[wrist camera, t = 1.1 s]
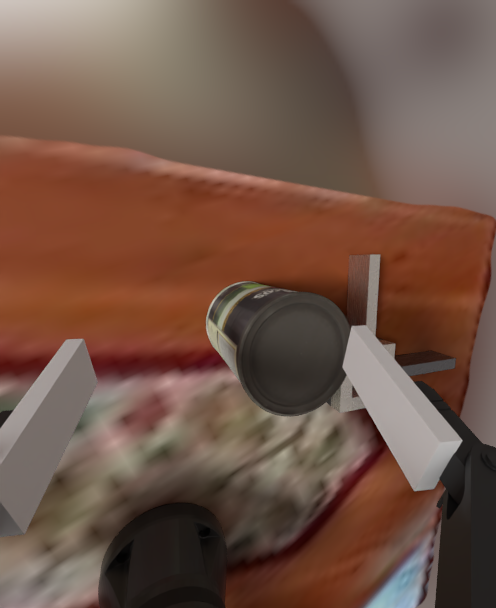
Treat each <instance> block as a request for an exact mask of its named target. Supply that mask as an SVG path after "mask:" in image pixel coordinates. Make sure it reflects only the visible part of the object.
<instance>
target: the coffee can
mask: <svg viewBox="0 0 496 608" xmlns="http://www.w3.org/2000/svg"><path fill="white" fill-rule="evenodd" d="M206 330H207V334H208V337H209V340H210V342H211V344H212V345H213V347H214V348H215V349H216V350H217V351H218V352H219V354H220V355H221V356H222V358H223V359H224V361H225V362H226V363H227V365H228V366H229V367H230V369H231V370H232V371H233V373H234V374H235V376H236V377H237V378H238V380H239V381H240V382H241V384H242V386H243V388H244V390H245V392H246V393H247V395H248V396H249V397H250V399H251V400H252V401H253V402H254V403H255V404H256V405H258V406H259V407H260V408H262V409H263V410H265V411H267V412H269V413H272V414H275V415H279V416H298V415H302V414H306V413H308V412H311V411H313V410H315V409H317V408H319V407H320V406H321V405H323V404H324V403H325V402H327V401H328V400H329V399H330V398H331V397H332V396H333V395H334V394H335V393H336V391H337V390H338V389H339V388H340V386H341V385H342V383H343V381H344V380H345V378H346V376H347V374H346V373H345V371H344V369H343V367H342V366H343V362H344V358H345V353H346V349H347V344H348V340H349V336H350V331H351V328H350V325H349V323H348V321H347V319H346V317H345V315H344V314H343V312H342V311H341V310H340V309H339V307H338V306H337V305H336V304H334V303H333V302H332V301H331V300H329V299H327V298H325V297H323V296H321V295H318V294H314V293H309V292H297V291H291V290H287V289H282V288H276V287H272V286H267V285H262V284H259V283H256V282H250V281H245V282H238V283H235V284H232V285H230V286H228V287H226V288H225V289H223V290H222V291H221V292H220V293H219V294H218V295H217V296H216V297H215V298H214V300H213V301H212V303H211V305H210V307H209V310H208V313H207V317H206Z"/></svg>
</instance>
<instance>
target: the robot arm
mask: <svg viewBox="0 0 496 608" xmlns="http://www.w3.org/2000/svg"><path fill="white" fill-rule="evenodd" d="M342 367H343V369H344V371H345V373H346V374H347V376H348V378H349V379H350V381H351V383H352V385H353V386H354V388H355V390H356V392H357V393H358V395H359V397H360V398H361V400H362V402H363V404H364V405H365V407H366V409H367V411H368V412H369V414H370V416H371V417H372V419H373V421H374V423H375V424H376V426H377V428H378V430H379V431H380V433H381V435H382V436H383V438H384V440H385V442H386V443H387V445H388V447H389V449H390V450H391V452H392V454H393V455H394V457H395V459H396V461H397V462H398V464H399V466H400V468H401V469H402V471H403V473H404V474H405V476H406V478H407V480H408V481H409V483H410V485H411V487H412V488H413V490H414V491H421V490H430V489H434V488H435V486H436V485H437V483H438V481H439V480H441V482H442V483H443V485H444V486H445V488H446V490H445V492H444V493H443V495H442V496H441V498H440V500H439V501H438V503H437V506H436V507H438V508H440V507H441V506H442V504H443V509H442V522H441V535H440V550H439V563H438V575H437V588H436V601H435V608H496V448H495V447H493V446H489V445H486V444H483V443H482V442H481V441H480V440H479V439H478V438H477V437H476V436H475V435H474V434H473V433H472V431H471V430H470V429H469V428H468V427H467V426H466V425H465V424H464V423H463V421H462V420H461V419H460V418H459V417H458V416H457V415H456V414H455V412H454V411H453V410H451V408H450V407H449V406H448V405H447V404H446V402H443V399H442V398H441V397H440V396H439V395H438V394H437V392H436V391H435V390H434V389H432V388H431V387H429V386H428V385H427V384H425V383H424V382H422V381H416V382H413V381H412V380H411V378H410V377H409V376H408V375H407V374H406V372H405V371H404V370H403V369H402V368H401V366H400V365H399V364H398V363H397V362H396V361H395V359H394V358H393V357H392V356H391V355H390V353H389V352H388V351H387V350H386V349H385V347H384V346H383V345H382V344H381V343H380V341H379V340H378V339H377V338H376V337H375V336H374V334H373V333H372V332H371V331H370V330H369V328H368V327H367V326H366V325H362V326H352V327H351V331H350V336H349V340H348V344H347V349H346V353H345V358H344V362H343V366H342ZM97 383H98V382H97V379H96V375H95V372H94V369H93V366H92V363H91V360H90V357H89V354H88V351H87V348H86V344H85V341H84V339H69V340H66V341H65V342H64V344H63V345H62V346H61V348H60V349H59V350H58V352H57V353H56V354H55V356H54V357H53V358H52V360H51V361H50V362H49V364H48V365H47V366H46V368H45V369H44V370H43V372H42V373H41V374H40V376H39V377H38V378H37V380H36V381H35V382H34V384H33V385H32V386H31V388H30V389H29V390H28V392H27V393H26V395H25V396H24V397H23V399H22V400H21V401H20V403H19V404H18V405H17V407H16V408H15V409H14V410H11V411H2V412H1V413H0V537H4V536H13V535H22V534H25V532H26V530H27V528H28V526H29V524H30V522H31V520H32V518H33V516H34V514H35V512H36V510H37V507H38V505H39V503H40V501H41V499H42V497H43V495H44V493H45V491H46V489H47V487H48V485H49V482H50V480H51V478H52V476H53V474H54V472H55V470H56V468H57V466H58V464H59V462H60V460H61V458H62V455H63V453H64V451H65V449H66V447H67V445H68V443H69V441H70V439H71V437H72V435H73V433H74V431H75V428H76V426H77V424H78V422H79V420H80V418H81V416H82V414H83V412H84V410H85V408H86V406H87V404H88V401H89V399H90V397H91V395H92V393H93V391H94V389H95V387H96V385H97ZM226 570H227V548H226V542H225V539H224V535H223V531H222V528H221V525H220V523H219V521H218V520H217V518H216V517H215V516H214V515H213V514H212V513H211V512H210V511H208V510H207V509H205V508H203V507H200V506H198V505H194V504H188V503H175V504H168V505H164V506H160V507H157V508H155V509H152V510H150V511H148V512H146V513H144V514H142V515H140V516H139V517H137V518H136V519H134V520H133V521H131V522H130V523H129V524H128V525H127V526H126V527H124V528H123V529H122V530H121V531H120V532H119V534H118V535H117V536H116V537H115V538H114V540H113V541H112V543H111V544H110V546H109V548H108V549H107V552H106V554H105V556H104V559H103V562H102V567H101V573H100V580H99V587H98V598H99V605H100V608H225V590H226Z"/></svg>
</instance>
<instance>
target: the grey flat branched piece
mask: <svg viewBox="0 0 496 608" xmlns="http://www.w3.org/2000/svg"><path fill="white" fill-rule="evenodd" d="M379 269H380V255H349V274H348V296H347V321H348V323H349V325H350V328H351V327H352V326H362V325H366V326H367V327H368V328H369V330H370V331H371V332H372V333H373V334H374V336H375V335H376V319H377V302H378V285H379ZM376 338H377V337H376ZM377 339H378V340H379V341H380V343H381V344H382V345H383V346H384V347H385V349H386V350H387V351H388V352H389V353H390V355H391V356H392V357H393V358H394V359H395V361H396V362H397V363H398V364H399V365H400V366H401V368H402V369H403V370H404V371H405V372H406V374H407V375H408V376H413V375H419V374H425V373H430V372H436V371H442V370H448V369H454V368H455V361H456V358H453V357H450V356H447V355H444V354H441V353H437V352H434V351H426V352H418V353H411V354H404V355H397V356H395V343H392V342H389V341H386V340H383V339H380V338H377ZM327 403H328V404H329V405H330V406H332V407H333V408H334V409H335V410H337V411H338V412H339V413H342V412H347V411H352V410H357V409H362V408H366V407H365V405H364V404H363V402H362V400H361V398H360V397H359V395H358V393H357V392H356V390H355V388H354V386H353V385H352V383H351V381H350V379H349V378H348V376H346V378H345V380H344V381H343V383H342V385H341V386H340V388H339V389H338V390H337V391H336V393H335V394H334V395H333V396H332V397H331V398H330V399H329V400H328V401H327Z"/></svg>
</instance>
